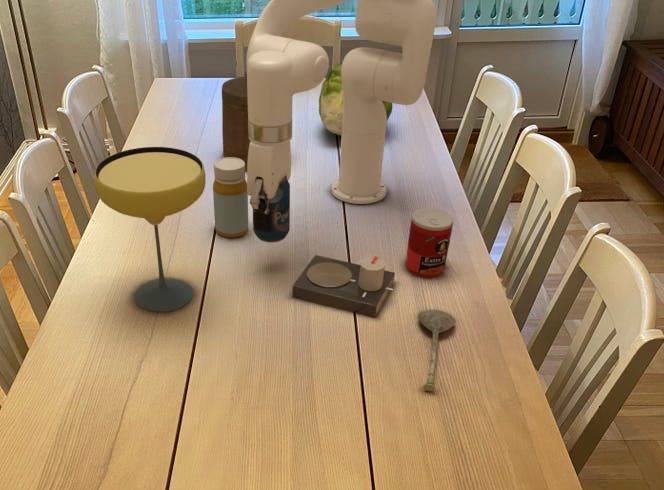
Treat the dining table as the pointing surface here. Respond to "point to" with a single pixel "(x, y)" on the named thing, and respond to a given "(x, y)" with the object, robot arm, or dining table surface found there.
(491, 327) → the dining table surface
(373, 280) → the hob knob
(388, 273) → the hob
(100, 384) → the dining table surface
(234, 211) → the bottle
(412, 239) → the canned food
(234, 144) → the wooden container
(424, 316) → the soupspoon
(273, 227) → the soda can
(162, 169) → the cocktail glass
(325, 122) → the lettuce
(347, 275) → the burner ring
